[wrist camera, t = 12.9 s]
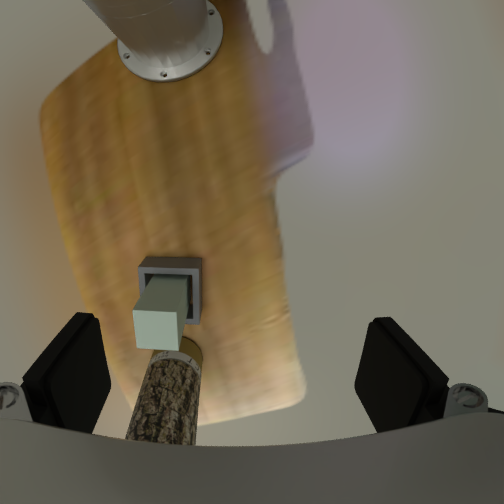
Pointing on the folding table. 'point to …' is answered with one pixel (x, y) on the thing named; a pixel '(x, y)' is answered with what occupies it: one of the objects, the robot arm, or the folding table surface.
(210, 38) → the robot arm
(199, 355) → the bark log chew toy
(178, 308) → the peg
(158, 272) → the socket block
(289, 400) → the folding table surface
